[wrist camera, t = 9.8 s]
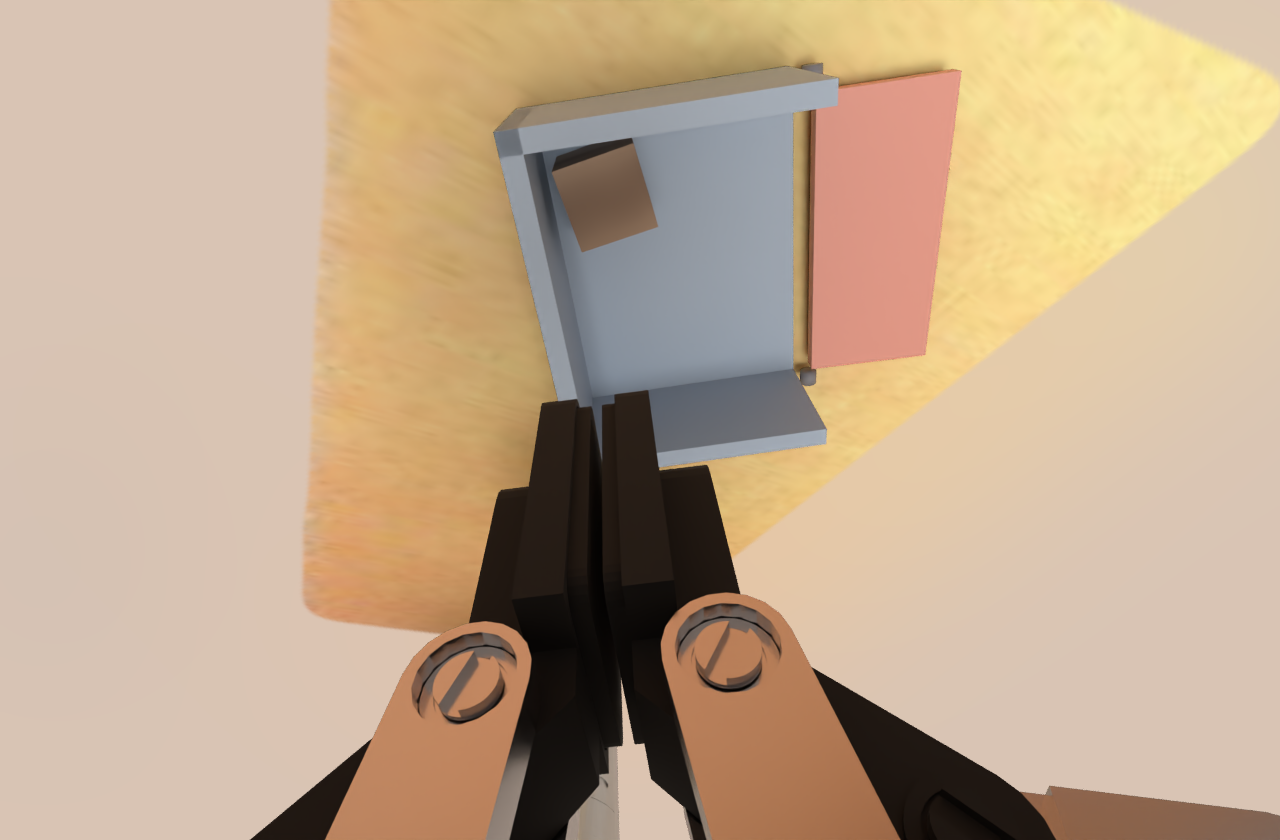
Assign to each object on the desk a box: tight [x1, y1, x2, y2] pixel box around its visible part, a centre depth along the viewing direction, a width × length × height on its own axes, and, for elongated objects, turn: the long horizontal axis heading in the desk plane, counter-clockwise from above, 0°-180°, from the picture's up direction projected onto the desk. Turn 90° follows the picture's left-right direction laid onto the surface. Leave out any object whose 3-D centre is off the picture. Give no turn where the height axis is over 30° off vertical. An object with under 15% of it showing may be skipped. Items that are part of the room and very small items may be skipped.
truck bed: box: [493, 63, 839, 467], centre depth 33 cm, size 18×15×8 cm
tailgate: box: [808, 69, 961, 369], centre depth 35 cm, size 16×1×7 cm
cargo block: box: [552, 138, 658, 252], centre depth 31 cm, size 4×4×4 cm
